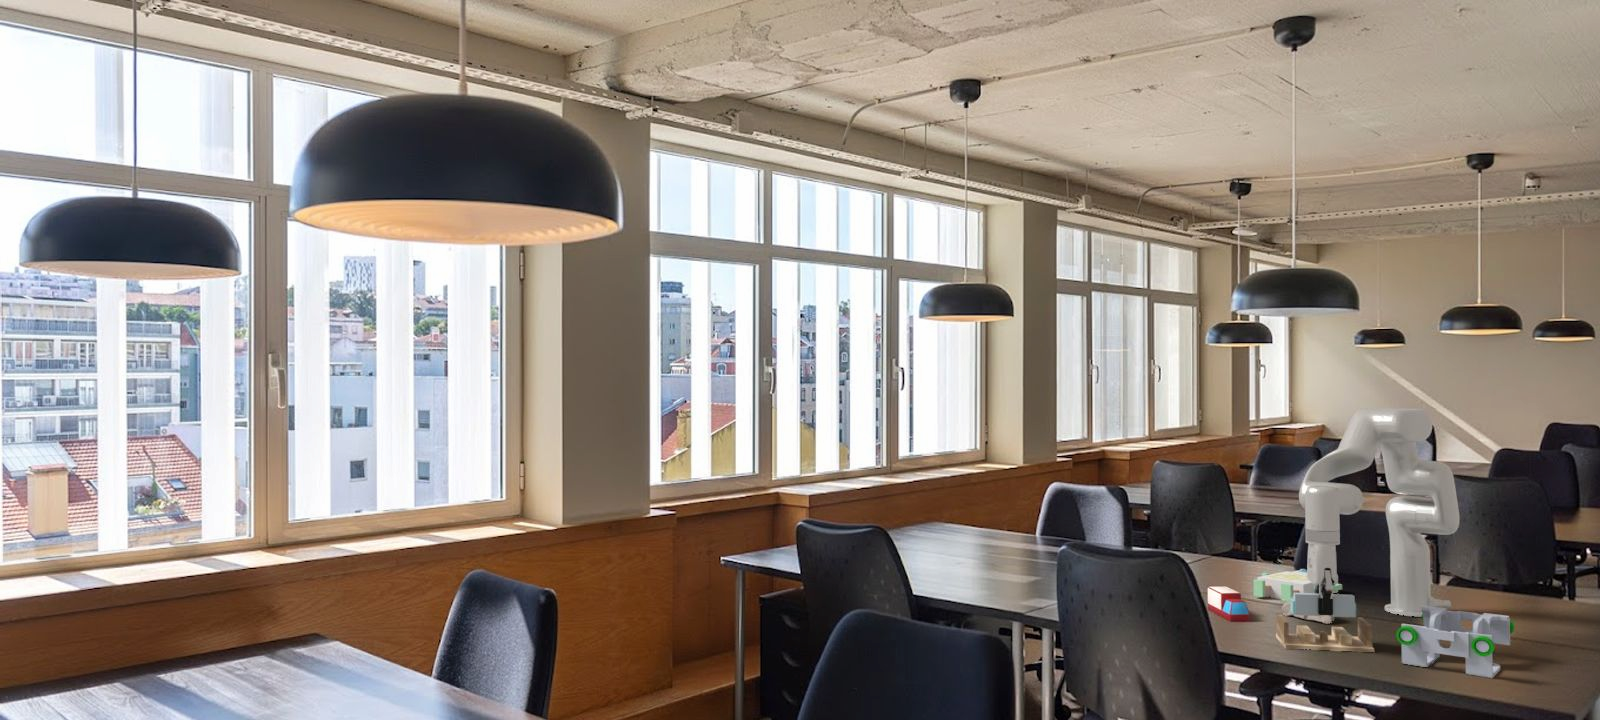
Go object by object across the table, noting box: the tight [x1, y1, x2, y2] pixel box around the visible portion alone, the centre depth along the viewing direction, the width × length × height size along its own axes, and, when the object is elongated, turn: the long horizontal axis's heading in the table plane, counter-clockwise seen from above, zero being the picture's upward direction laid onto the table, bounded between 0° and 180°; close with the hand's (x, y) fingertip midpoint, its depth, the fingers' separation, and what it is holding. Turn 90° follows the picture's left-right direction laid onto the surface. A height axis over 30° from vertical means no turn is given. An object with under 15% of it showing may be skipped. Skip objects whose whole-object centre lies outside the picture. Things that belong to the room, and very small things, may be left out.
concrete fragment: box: [1281, 596, 1335, 625], centre depth 294 cm, size 7×14×6 cm, turn 28°
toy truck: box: [1207, 586, 1251, 623], centre depth 299 cm, size 6×15×7 cm, turn 2°
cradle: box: [1275, 614, 1375, 653], centre depth 266 cm, size 19×12×6 cm, turn 77°
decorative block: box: [1252, 568, 1343, 602], centre depth 324 cm, size 26×6×20 cm
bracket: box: [1395, 606, 1515, 679], centre depth 250 cm, size 19×25×10 cm
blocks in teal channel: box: [1290, 593, 1357, 618], centre depth 266 cm, size 14×4×5 cm, turn 77°
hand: (1323, 612), depth 266 cm, fingers closed on blocks in teal channel, 3 cm apart
